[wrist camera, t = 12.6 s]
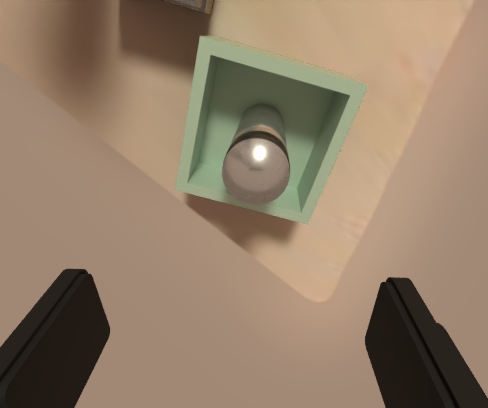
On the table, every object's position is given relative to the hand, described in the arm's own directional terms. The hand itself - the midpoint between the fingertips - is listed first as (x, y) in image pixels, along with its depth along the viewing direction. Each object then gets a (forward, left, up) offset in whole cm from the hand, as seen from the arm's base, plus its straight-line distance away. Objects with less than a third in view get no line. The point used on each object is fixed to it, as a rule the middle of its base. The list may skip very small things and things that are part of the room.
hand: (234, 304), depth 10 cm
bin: (+1, 0, -24) cm, 24 cm away
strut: (0, 0, -23) cm, 23 cm away
